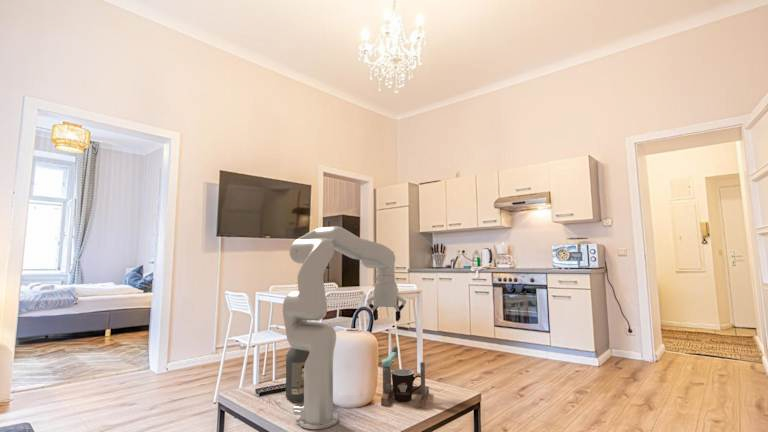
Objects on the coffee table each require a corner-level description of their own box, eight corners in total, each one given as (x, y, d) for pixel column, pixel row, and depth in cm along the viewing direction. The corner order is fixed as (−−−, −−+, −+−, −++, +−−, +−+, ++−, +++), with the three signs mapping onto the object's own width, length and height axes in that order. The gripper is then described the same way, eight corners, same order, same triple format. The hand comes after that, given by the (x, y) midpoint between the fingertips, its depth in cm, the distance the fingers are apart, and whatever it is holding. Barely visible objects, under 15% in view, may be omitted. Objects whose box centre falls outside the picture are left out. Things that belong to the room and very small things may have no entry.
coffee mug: (387, 401, 146) (387, 373, 148) (397, 394, 154) (397, 368, 155) (416, 406, 141) (415, 377, 142) (425, 398, 149) (424, 371, 150)
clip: (390, 368, 148) (390, 357, 149) (381, 368, 149) (380, 357, 150) (399, 356, 166) (399, 346, 167) (391, 356, 167) (391, 346, 168)
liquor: (283, 397, 153) (284, 318, 156) (305, 392, 158) (305, 316, 161) (293, 404, 145) (294, 321, 149) (315, 398, 151) (316, 318, 154)
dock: (379, 405, 143) (378, 364, 144) (389, 390, 158) (388, 353, 160) (423, 408, 139) (422, 366, 141) (429, 393, 155) (428, 355, 156)
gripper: (363, 280, 168) (364, 321, 166) (403, 280, 162) (404, 322, 160) (370, 279, 175) (370, 318, 173) (407, 279, 169) (408, 319, 167)
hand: (386, 320), depth 167 cm, fingers open, 9 cm apart
